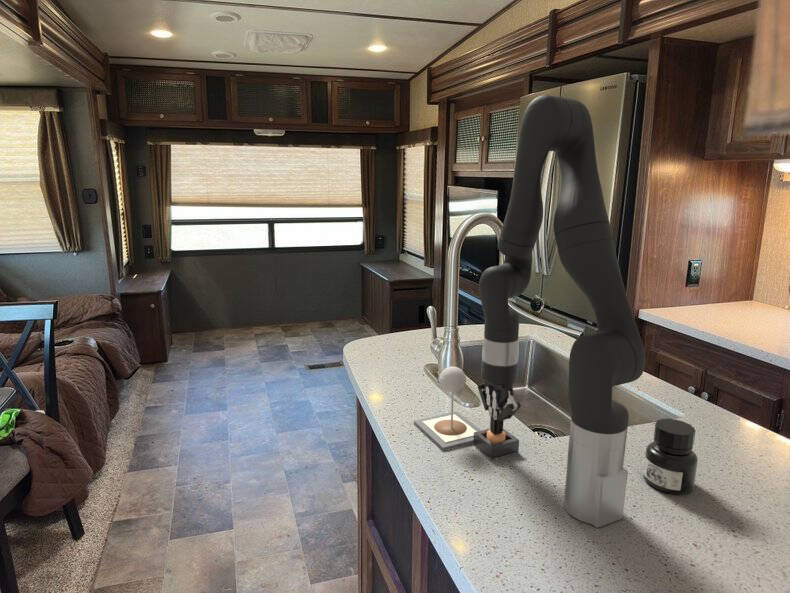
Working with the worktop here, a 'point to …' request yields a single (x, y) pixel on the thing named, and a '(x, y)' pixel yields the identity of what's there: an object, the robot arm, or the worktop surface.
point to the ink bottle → (671, 457)
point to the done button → (495, 437)
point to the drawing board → (448, 430)
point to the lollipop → (452, 383)
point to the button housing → (496, 445)
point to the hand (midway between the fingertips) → (496, 432)
